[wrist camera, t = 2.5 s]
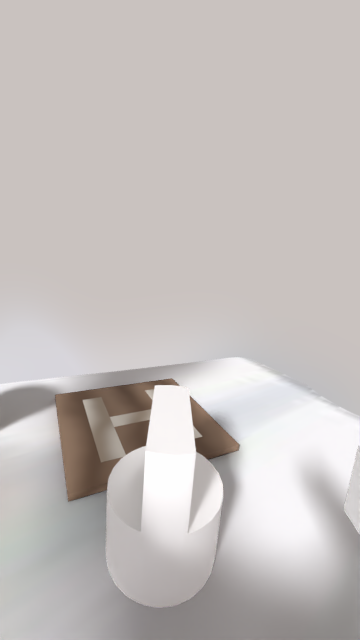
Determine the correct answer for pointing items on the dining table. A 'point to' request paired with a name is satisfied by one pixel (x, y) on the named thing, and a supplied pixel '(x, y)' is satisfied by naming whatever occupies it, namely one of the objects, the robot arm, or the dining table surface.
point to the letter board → (119, 432)
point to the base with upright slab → (163, 509)
